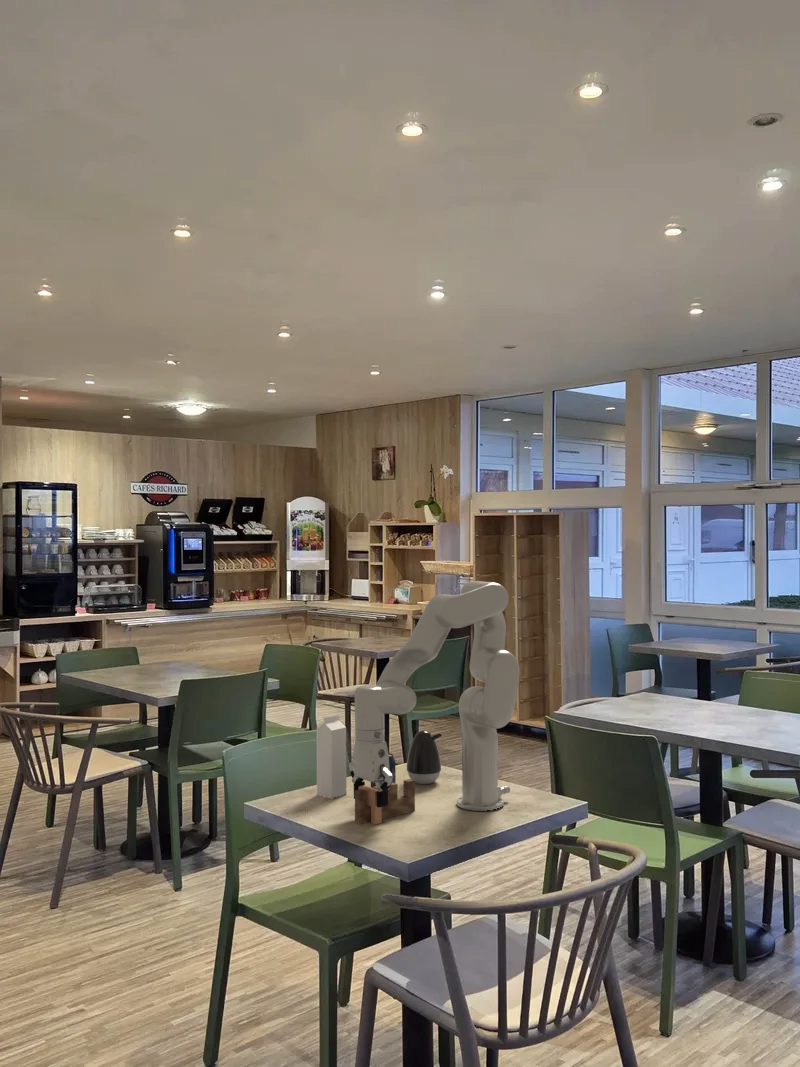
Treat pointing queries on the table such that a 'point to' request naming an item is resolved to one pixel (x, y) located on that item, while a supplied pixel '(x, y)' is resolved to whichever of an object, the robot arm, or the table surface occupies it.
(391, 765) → the soda can
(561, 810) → the table surface
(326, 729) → the milk
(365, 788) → the slotted plate
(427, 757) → the pump dispenser
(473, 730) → the robot arm
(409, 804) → the walnut e-shaped block
